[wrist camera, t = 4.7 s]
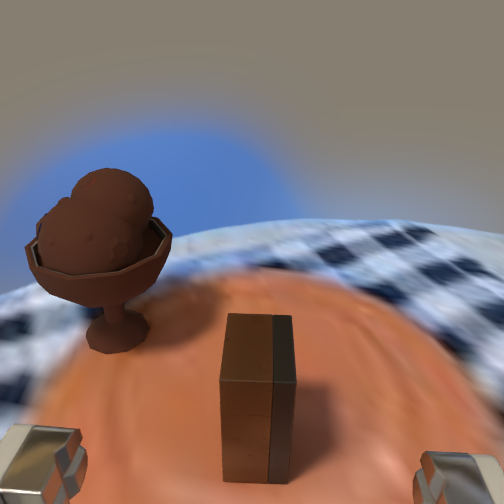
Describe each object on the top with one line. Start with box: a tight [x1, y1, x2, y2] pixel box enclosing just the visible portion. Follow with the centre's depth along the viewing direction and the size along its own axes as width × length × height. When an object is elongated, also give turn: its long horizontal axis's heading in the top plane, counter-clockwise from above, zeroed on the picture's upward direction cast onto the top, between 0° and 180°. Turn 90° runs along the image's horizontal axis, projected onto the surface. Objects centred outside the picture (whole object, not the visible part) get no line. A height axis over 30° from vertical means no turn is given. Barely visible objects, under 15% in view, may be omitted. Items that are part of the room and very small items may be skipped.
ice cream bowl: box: [25, 168, 172, 354], centre depth 34 cm, size 11×11×15 cm
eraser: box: [219, 313, 297, 484], centre depth 26 cm, size 4×6×9 cm
